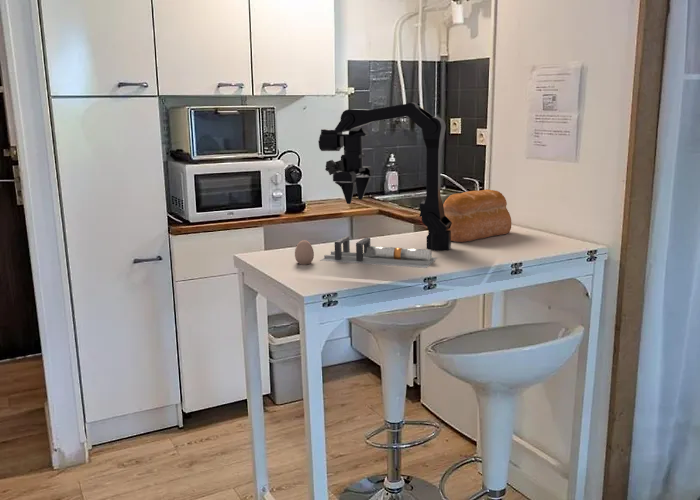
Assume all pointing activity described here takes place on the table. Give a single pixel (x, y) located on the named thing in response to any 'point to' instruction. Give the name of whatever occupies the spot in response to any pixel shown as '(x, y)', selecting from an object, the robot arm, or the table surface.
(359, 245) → the dark gray arch
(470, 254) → the table surface
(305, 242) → the egg
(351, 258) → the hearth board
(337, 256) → the collar
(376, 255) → the tube
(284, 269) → the table surface
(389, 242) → the table surface
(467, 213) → the bread
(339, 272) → the table surface
